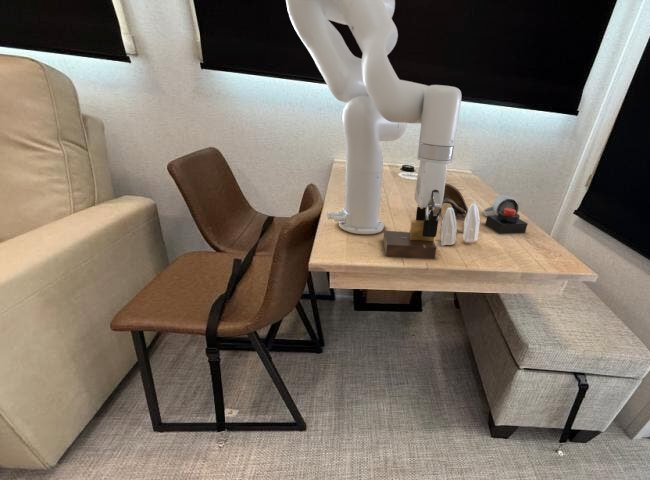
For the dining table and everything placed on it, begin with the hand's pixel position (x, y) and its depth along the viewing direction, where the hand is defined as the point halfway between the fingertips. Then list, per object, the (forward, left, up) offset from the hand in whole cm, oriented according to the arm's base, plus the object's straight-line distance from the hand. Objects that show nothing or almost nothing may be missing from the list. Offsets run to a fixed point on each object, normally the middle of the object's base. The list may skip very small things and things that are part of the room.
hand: (425, 229), depth 80 cm
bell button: (+36, +13, -1) cm, 38 cm away
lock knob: (0, +1, -3) cm, 3 cm away
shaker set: (+13, +4, -6) cm, 15 cm away
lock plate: (-2, +1, -6) cm, 6 cm away
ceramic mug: (+41, +24, -6) cm, 48 cm away
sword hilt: (+17, +18, -6) cm, 26 cm away
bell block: (+36, +13, -6) cm, 39 cm away
